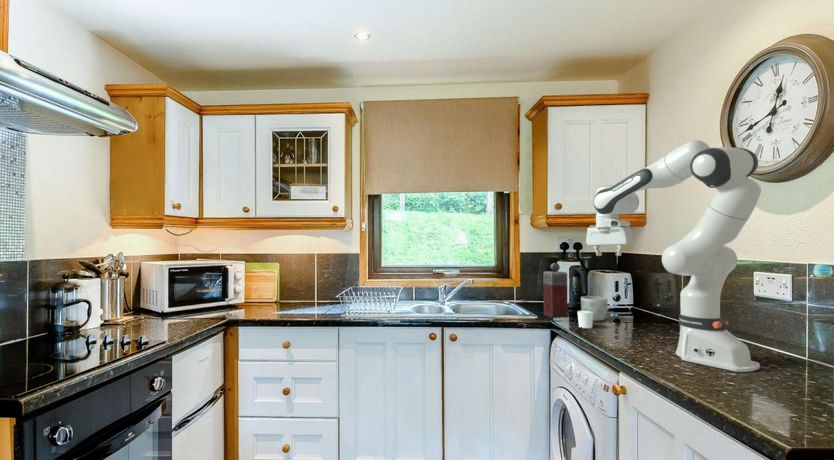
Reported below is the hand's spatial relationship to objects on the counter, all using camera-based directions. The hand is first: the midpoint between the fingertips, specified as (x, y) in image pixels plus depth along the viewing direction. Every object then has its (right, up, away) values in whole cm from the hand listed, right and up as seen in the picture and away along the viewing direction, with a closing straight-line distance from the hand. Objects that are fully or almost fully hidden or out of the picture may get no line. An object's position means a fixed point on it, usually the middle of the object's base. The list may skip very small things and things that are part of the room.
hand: (608, 255), depth 167 cm
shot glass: (-4, -34, +13) cm, 37 cm away
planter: (+8, -35, +31) cm, 47 cm away
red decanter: (-9, -35, +40) cm, 54 cm away
